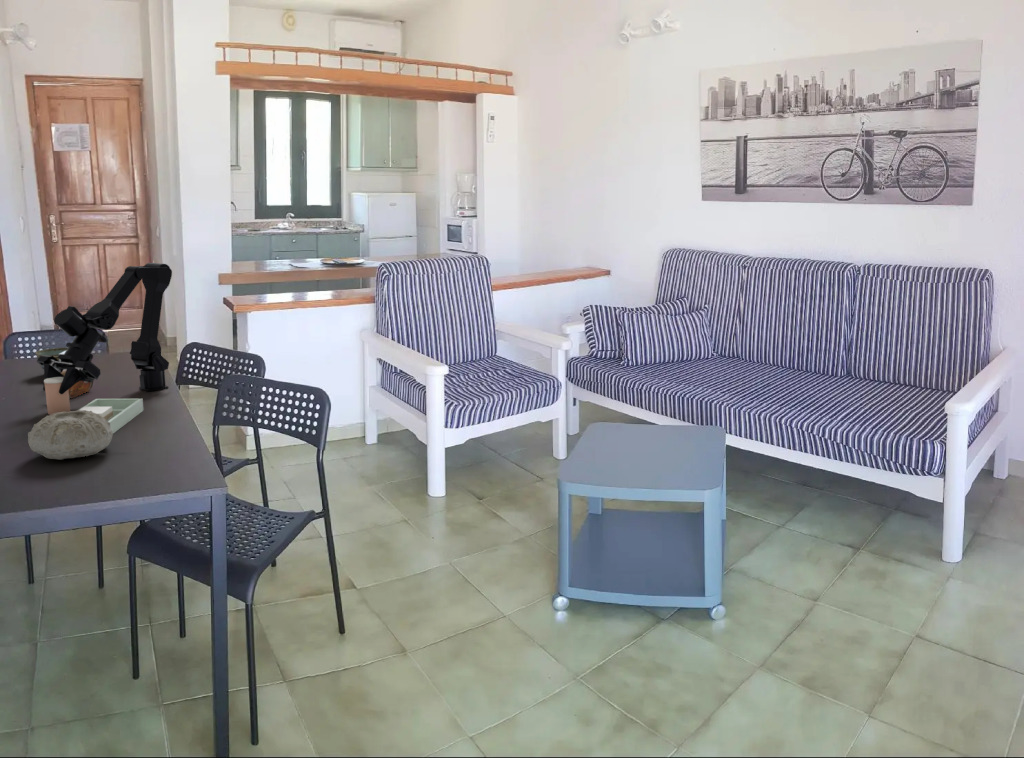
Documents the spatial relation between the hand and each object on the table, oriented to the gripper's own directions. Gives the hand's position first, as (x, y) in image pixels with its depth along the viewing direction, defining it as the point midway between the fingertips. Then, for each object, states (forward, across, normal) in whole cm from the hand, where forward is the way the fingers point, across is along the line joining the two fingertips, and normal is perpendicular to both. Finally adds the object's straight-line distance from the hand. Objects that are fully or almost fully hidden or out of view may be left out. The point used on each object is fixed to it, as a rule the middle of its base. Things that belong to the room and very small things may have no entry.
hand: (52, 392), depth 231 cm
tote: (+5, -19, -4) cm, 20 cm away
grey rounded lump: (+21, -33, +11) cm, 41 cm away
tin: (-8, +14, -18) cm, 24 cm away
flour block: (+8, -22, 0) cm, 23 cm away
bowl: (-21, +42, -31) cm, 56 cm away
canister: (+4, 0, -6) cm, 7 cm away
